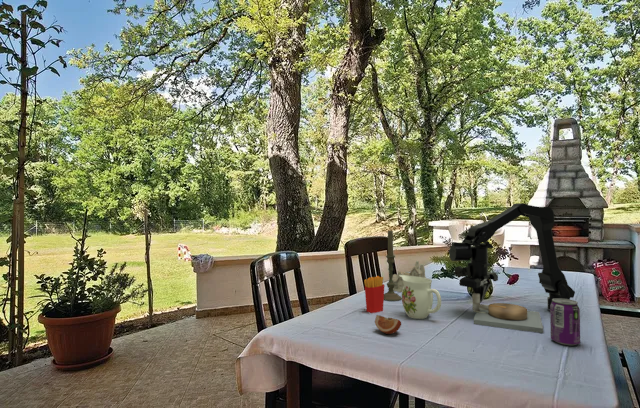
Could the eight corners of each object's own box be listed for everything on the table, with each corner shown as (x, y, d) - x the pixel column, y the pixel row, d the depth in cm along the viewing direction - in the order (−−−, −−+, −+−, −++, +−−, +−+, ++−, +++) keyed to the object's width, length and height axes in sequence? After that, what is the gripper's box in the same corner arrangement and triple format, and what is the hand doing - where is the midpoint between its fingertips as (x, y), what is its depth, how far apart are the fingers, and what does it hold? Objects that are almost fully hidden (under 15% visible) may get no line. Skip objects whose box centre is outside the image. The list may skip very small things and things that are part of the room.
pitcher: (430, 326, 119) (430, 284, 120) (390, 313, 134) (389, 276, 134) (450, 320, 126) (450, 280, 126) (409, 308, 140) (409, 273, 141)
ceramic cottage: (433, 288, 174) (430, 257, 175) (418, 296, 162) (415, 263, 162) (404, 286, 184) (401, 257, 185) (388, 293, 172) (385, 262, 172)
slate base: (539, 316, 130) (539, 311, 130) (543, 333, 112) (543, 328, 112) (475, 308, 140) (475, 304, 140) (470, 323, 122) (470, 318, 122)
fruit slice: (371, 332, 114) (370, 316, 114) (383, 327, 119) (383, 312, 119) (393, 338, 108) (393, 322, 109) (405, 333, 113) (405, 317, 113)
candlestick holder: (404, 297, 158) (404, 229, 158) (397, 302, 150) (396, 230, 151) (385, 295, 163) (384, 228, 163) (376, 299, 155) (376, 229, 155)
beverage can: (585, 348, 100) (584, 304, 100) (557, 346, 102) (556, 303, 102) (573, 338, 107) (572, 298, 107) (546, 337, 109) (545, 297, 109)
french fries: (378, 307, 142) (378, 274, 143) (387, 309, 139) (386, 276, 139) (361, 311, 137) (361, 277, 137) (369, 314, 133) (369, 279, 134)
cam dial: (527, 312, 128) (527, 295, 128) (527, 322, 117) (527, 302, 117) (474, 306, 136) (474, 290, 136) (470, 314, 126) (470, 296, 126)
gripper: (469, 255, 145) (470, 294, 145) (445, 260, 133) (446, 303, 133) (498, 258, 137) (498, 299, 137) (475, 264, 125) (475, 309, 125)
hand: (479, 302), depth 133 cm, fingers closed
